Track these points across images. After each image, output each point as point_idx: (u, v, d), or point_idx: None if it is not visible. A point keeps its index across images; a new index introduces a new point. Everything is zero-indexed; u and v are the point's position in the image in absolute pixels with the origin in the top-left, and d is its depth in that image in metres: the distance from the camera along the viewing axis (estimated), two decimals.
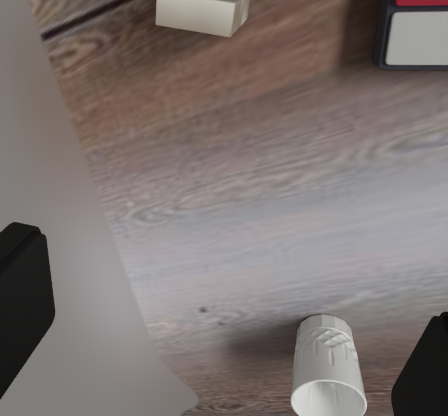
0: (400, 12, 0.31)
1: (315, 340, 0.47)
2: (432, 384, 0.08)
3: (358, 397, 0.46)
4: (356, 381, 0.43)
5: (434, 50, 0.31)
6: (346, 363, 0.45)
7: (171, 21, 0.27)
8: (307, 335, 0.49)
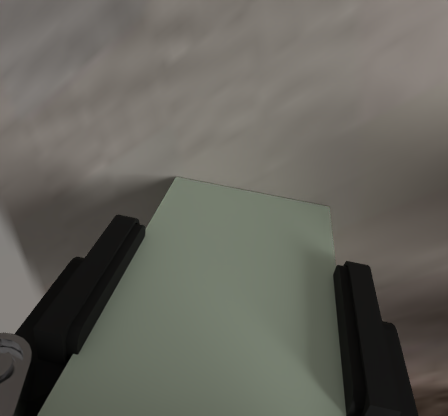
0: None
1: None
2: None
3: None
4: None
5: None
6: None
7: None
8: None
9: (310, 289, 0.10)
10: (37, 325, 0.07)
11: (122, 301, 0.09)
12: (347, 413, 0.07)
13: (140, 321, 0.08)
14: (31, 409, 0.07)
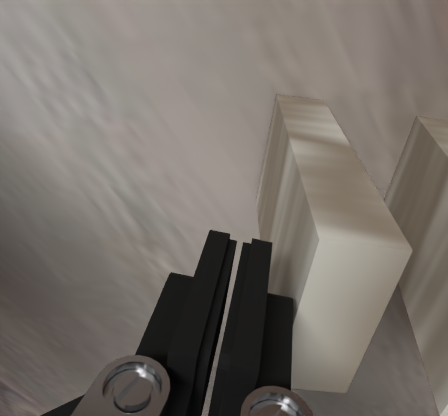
0: None
1: None
2: None
3: None
4: None
5: None
6: None
7: None
8: None
9: None
10: (171, 347, 0.07)
11: None
12: None
13: None
14: None
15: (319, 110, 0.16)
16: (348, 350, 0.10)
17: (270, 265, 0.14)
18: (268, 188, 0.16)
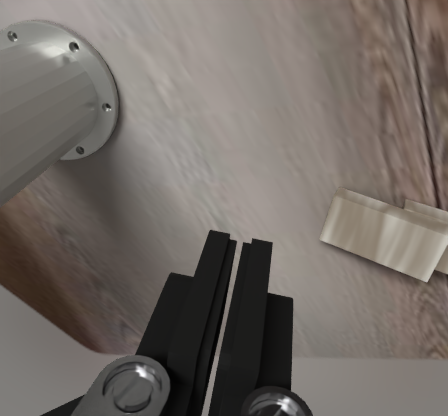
0: None
1: None
2: None
3: None
4: None
5: None
6: None
7: None
8: None
9: None
10: (171, 347, 0.07)
11: None
12: None
13: None
14: None
15: (352, 193, 0.38)
16: None
17: (388, 256, 0.37)
18: (354, 232, 0.38)
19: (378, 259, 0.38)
